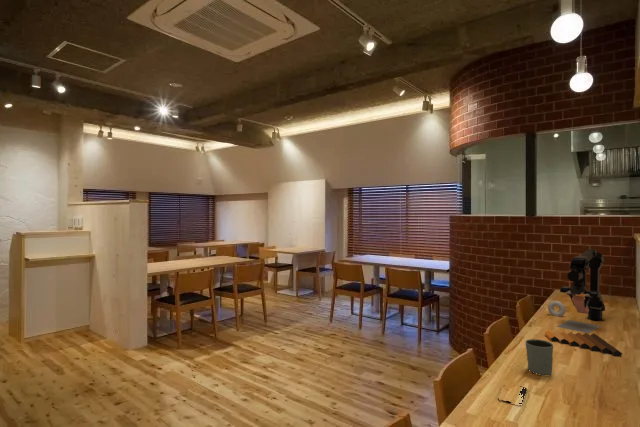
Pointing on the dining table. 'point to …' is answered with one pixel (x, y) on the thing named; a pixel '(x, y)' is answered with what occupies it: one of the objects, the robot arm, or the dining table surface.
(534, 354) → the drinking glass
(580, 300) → the tall box
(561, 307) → the donut
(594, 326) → the mat
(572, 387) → the dining table surface
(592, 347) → the pan flute
